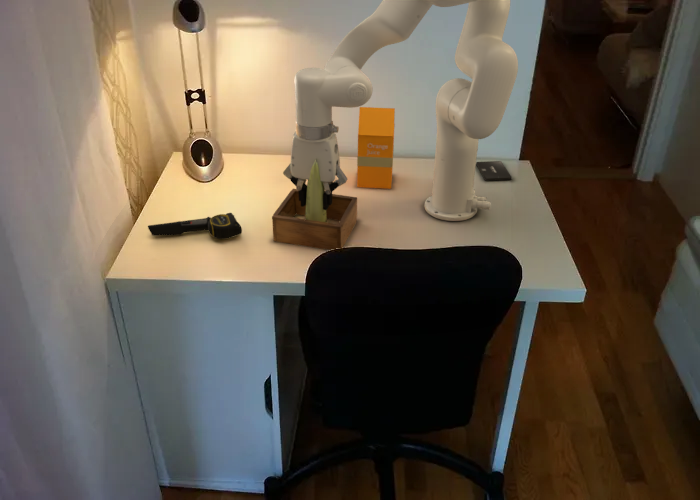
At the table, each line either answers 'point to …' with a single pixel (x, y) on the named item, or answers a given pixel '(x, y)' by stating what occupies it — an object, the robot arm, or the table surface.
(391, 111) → the orange juice
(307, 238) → the wooden box
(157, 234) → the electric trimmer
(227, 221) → the tape measure
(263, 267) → the table surface
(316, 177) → the bamboo shoot
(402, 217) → the table surface
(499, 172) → the solid state drive
